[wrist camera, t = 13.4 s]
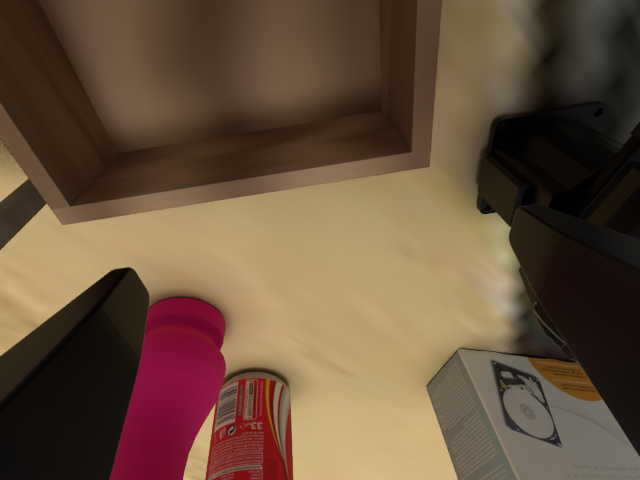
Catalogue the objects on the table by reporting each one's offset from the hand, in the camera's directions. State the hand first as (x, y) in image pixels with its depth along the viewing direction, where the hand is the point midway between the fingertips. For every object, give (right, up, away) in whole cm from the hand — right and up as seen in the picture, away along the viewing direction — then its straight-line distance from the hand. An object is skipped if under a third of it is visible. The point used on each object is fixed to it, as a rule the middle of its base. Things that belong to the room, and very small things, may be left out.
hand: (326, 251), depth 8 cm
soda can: (-7, -14, +27) cm, 31 cm away
